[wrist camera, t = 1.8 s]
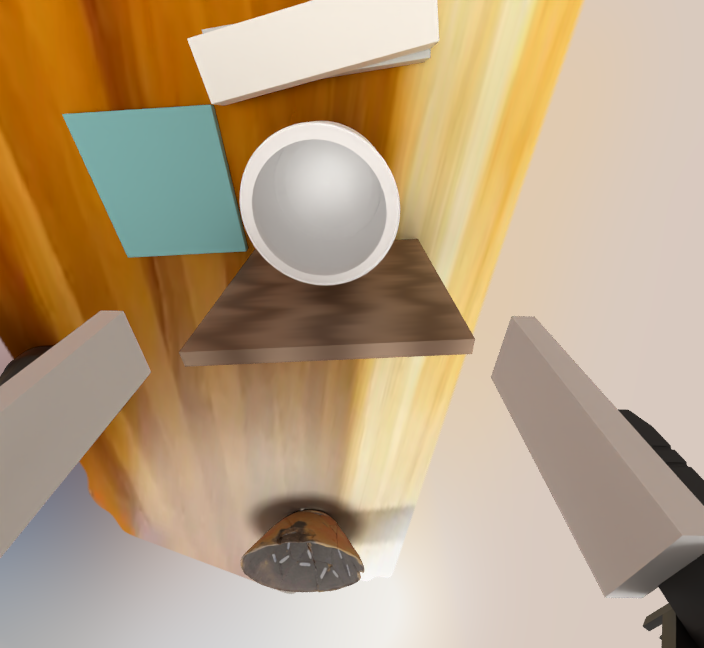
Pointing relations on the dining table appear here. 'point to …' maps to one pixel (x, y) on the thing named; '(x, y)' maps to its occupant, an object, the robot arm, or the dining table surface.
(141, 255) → the mat
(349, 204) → the jar
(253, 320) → the wood grain panel
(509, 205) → the dining table surface
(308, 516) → the bowl
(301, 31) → the offcut top
